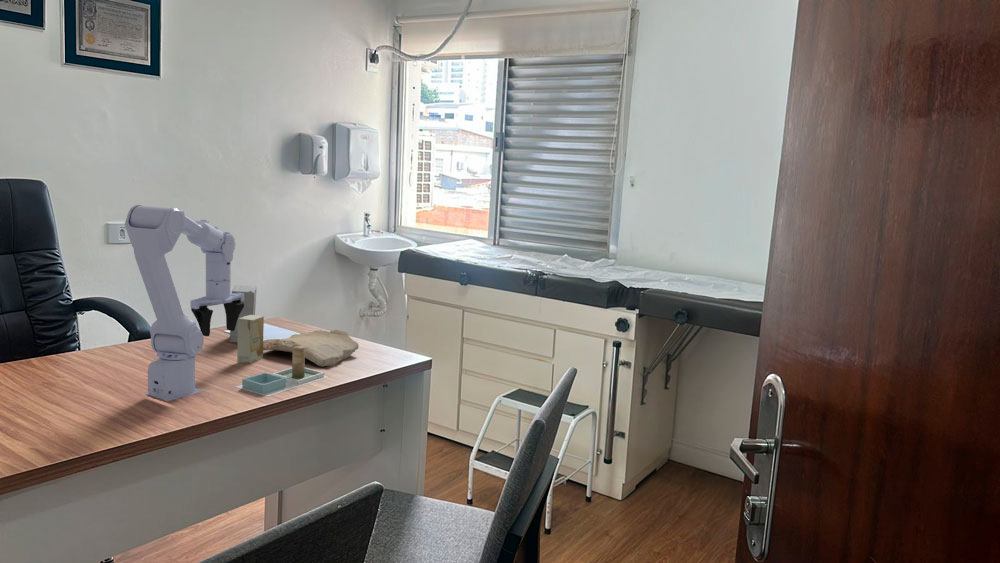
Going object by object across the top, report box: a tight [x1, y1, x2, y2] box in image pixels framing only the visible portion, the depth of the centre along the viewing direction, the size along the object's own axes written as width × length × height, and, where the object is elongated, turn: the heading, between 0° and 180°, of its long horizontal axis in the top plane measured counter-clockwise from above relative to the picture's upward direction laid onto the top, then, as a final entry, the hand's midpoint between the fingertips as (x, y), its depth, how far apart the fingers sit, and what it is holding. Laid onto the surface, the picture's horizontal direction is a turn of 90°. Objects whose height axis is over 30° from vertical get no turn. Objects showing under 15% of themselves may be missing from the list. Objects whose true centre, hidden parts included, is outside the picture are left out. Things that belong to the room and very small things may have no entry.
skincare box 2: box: [236, 314, 265, 364], centre depth 190 cm, size 6×4×12 cm
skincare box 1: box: [229, 284, 258, 344], centre depth 211 cm, size 8×7×16 cm
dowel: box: [291, 346, 306, 378], centre depth 178 cm, size 3×3×8 cm
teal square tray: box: [241, 372, 286, 394], centre depth 169 cm, size 7×7×2 cm
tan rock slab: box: [263, 329, 360, 367], centre depth 200 cm, size 24×8×20 cm
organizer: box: [235, 367, 329, 398], centre depth 174 cm, size 20×11×2 cm, turn 151°
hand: (218, 332), depth 178 cm, fingers open, 7 cm apart
